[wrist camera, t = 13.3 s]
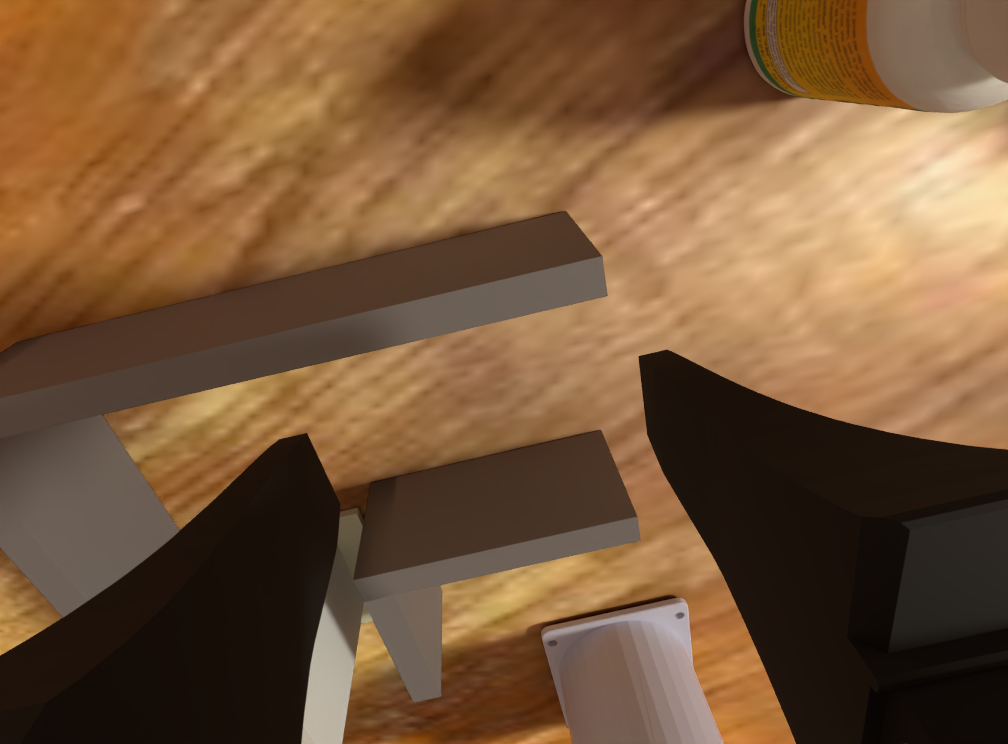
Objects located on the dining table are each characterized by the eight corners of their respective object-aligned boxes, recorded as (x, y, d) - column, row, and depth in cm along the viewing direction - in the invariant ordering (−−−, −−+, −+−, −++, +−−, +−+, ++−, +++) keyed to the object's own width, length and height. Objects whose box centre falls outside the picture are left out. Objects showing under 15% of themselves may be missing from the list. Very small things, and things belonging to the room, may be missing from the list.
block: (364, 601, 28) (336, 777, 21) (286, 617, 29) (233, 798, 21) (337, 544, 27) (297, 716, 20) (253, 561, 27) (184, 740, 20)
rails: (620, 552, 29) (655, 650, 24) (227, 640, 29) (184, 752, 25) (565, 211, 21) (602, 255, 16) (17, 342, 21) (-111, 424, 16)
